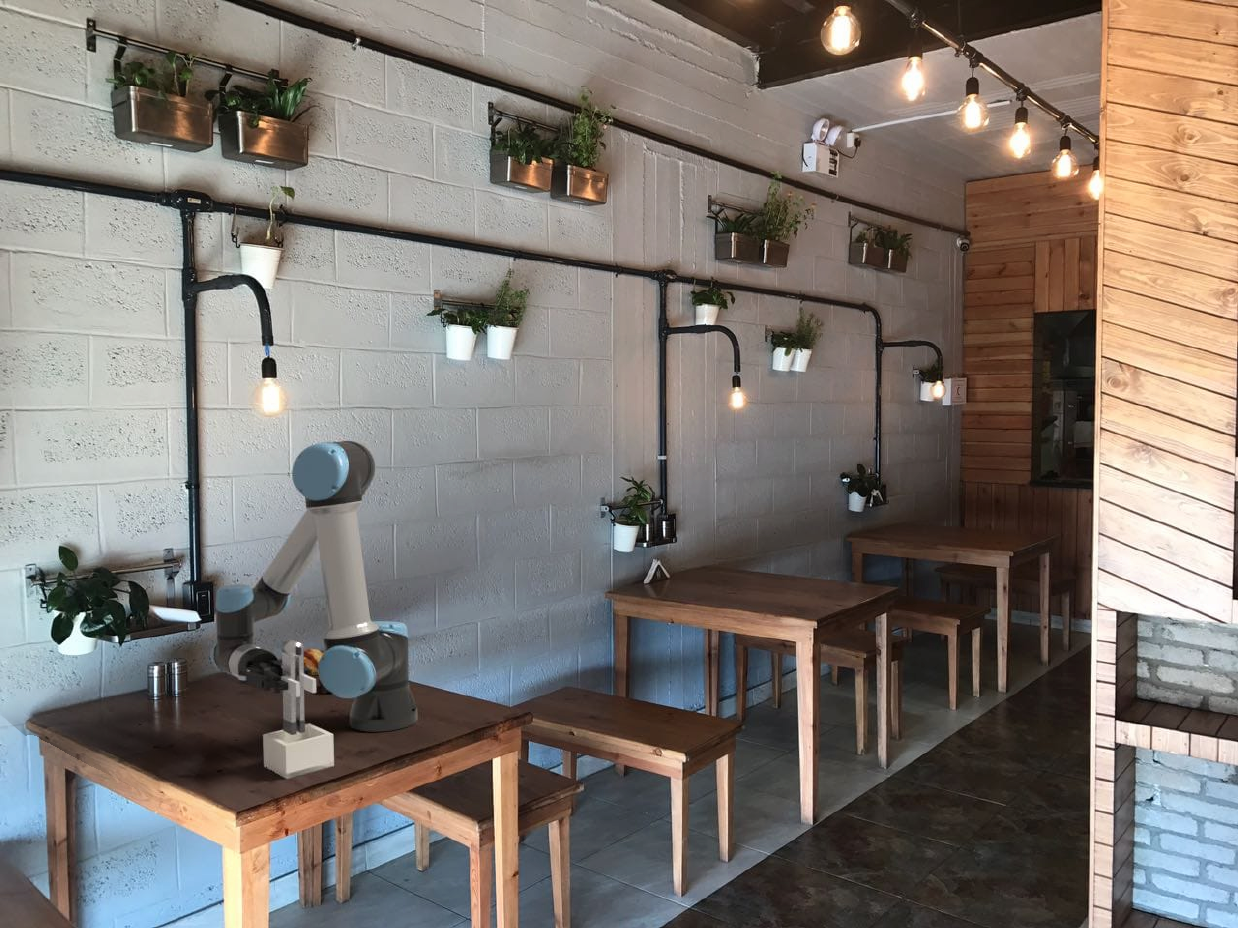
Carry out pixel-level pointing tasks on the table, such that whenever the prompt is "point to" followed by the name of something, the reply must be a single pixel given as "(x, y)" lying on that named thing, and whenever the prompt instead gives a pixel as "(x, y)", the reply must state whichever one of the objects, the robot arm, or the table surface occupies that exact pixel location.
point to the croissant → (312, 659)
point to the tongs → (295, 671)
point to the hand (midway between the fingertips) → (306, 687)
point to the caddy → (298, 751)
